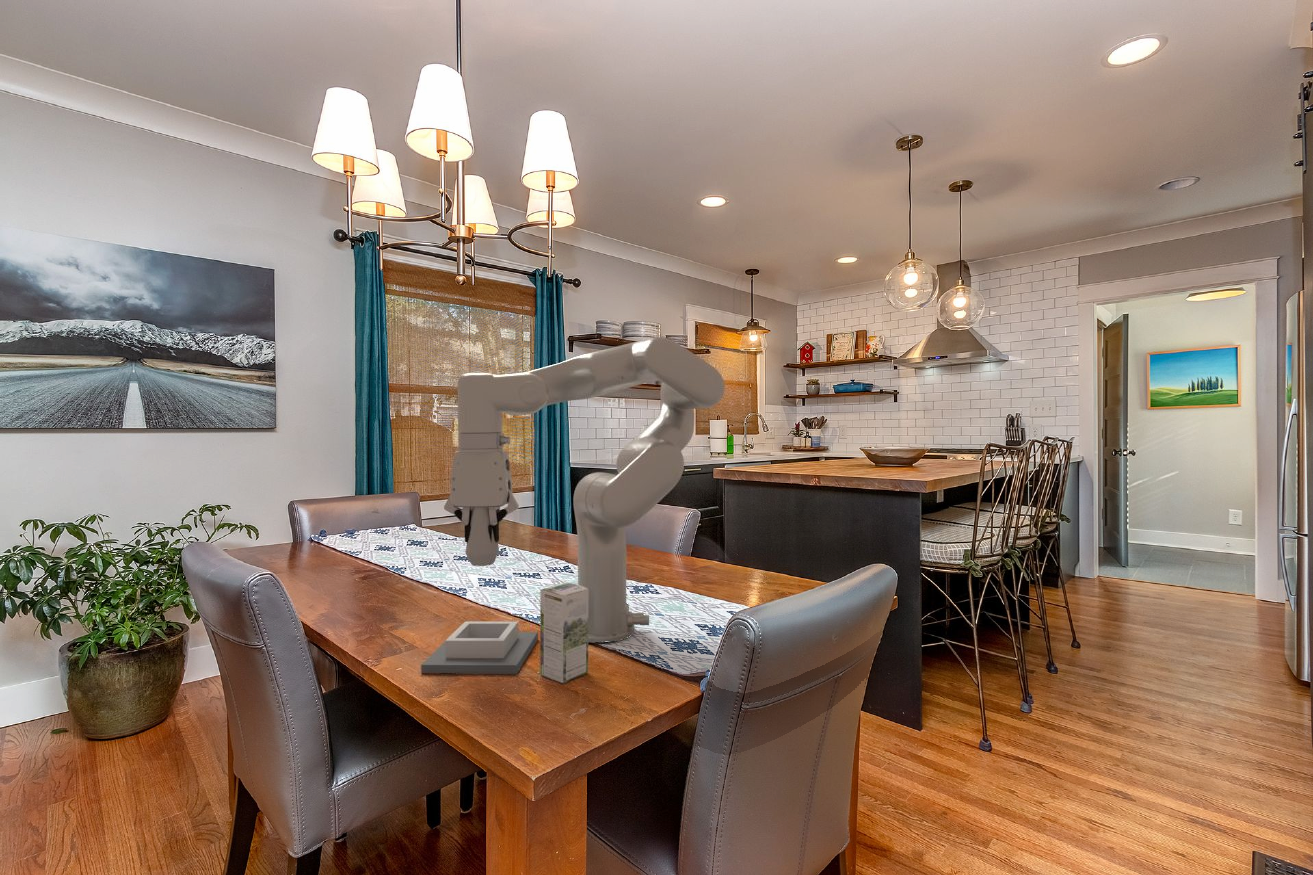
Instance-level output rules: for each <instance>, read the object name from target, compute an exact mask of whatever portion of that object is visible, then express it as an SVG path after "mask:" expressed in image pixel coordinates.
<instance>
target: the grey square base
mask: <svg viewBox="0 0 1313 875" xmlns="http://www.w3.org/2000/svg"><path fill="white" fill-rule="evenodd" d="M538 641H539V631H519V621H483V620H481V621H477V620H475V621H473V620H472V621H464V622H463V623H462V624H461V625H460V626H458V628H457V629H456V630H454V632H453V633H452V634H450V635H449V636H448V637H447V639H446V640H445V641H444V642H443V643H441V645H440V646H439V647H438V648H437V649H436V650H434V651H433V652H432V654H431V655H429V657H428V658H427V659H426V660H424V662H422V663H421V664H420V670H421V671H420V674H421V673H452V674H451V675H518V673H519V671H520V670H521V668H522V667H523V665H524V663H525V662H526V660H527V658H528V657H529V655H530V653H531V652H532V650H533V648H534V647H535V646H536V643H537V642H538ZM453 673H454V674H453ZM455 673H456V674H455Z"/></svg>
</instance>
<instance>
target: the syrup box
mask: <svg viewBox="0 0 1313 875" xmlns="http://www.w3.org/2000/svg"><path fill="white" fill-rule="evenodd" d="M539 594H540V595H539V596H540V598H539V599H540V600H539V601H540V603H539V604H540V609H539V612H540V616H539V617H540V620H539V621H540V626H539V627H540V628H539V629H540V630H539V632H540V633H539V634H540V638H539V639H540V641H539V642H540V644H539V645H540V646H539V648H540V652H539V653H540V654H539V655H540V659H539V662H540V666H539V667H540V670H539V674H540V675H541V676H542V677H546V678H547V679H551V680H553V681H556V682H558V683H561V684H565V683H568V682H570V681H573V680H574V679H576V678H579V677H580V676H583V675H586V674H587V673H589V642H588V595H589V590H588V589H587V588H585V587H583V586H580V585H578V583H573V582H564V583H560V584H556V585H553V586H549V587H546V588H542V589H540V592H539Z"/></svg>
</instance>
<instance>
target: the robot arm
mask: <svg viewBox="0 0 1313 875" xmlns="http://www.w3.org/2000/svg"><path fill="white" fill-rule="evenodd" d="M651 382H661V385H660V409H659V410H660V411H659V413H658V414H657V417H655V419H654V420H653V421H652V422H651V423H650V424H649V425H648V426H647V427H646V428H645V429H643V430H642V432H640V433H639V434H638V435H637V436H635V438H633V439H632V440H631V441H630V442H629V443H628V444H626V445H625V446H624V447H623V448H622V449H621V451H620V452H619V454H618V455H617V457H616V463H615V464H616V471H617V472H618V474H614V473H609V472H603V471H602V472H598V471H597V472H592V473H590V474H587V475H585V476H584V477H583V478H582V479H581V480H579V481H578V483H577V485H576V487H575V490H574V492H573V493H574V494H573V499H572V500H573V511H574V518H575V523H576V532H577V533H576V534H577V585H580V586H583V587H585V588H587V589H588V590H589V595H588V643H592V644H594V643H595V642H602V641H603V642H605V641H615V642H619V641H618V640H620V641H622V640H621V639H623V640H625V638H626V639H628V638H629V636H630V637H631V636H633V635H634V633H635V625H638V626H650V615H649V614H645V613H644V612H633V611H631V610H630V605H629V604H628V605H627V539H626V531H625V528H628V527H630V526H633V525H635V524H636V523H637V522H639V521H640V520H641V519H642V518H644V517H645V516H646V515H647V514H648V513H649V512H650V511H651V510H653V508H654V507H656V506H657V504H658V503H660V502H661V501H662V500H663V498H664V497H666V496H667V495H668V494H669V493H670V492H671V491H672V490H673V489H674V488H675V486H676V485H677V484H678V483H679V481H680V479H681V478H682V475H683V472H684V469H685V468H684V467H685V458H684V455H683V452H682V451H683V450H684V449H685V448H686V446H688V444H689V443H690V441H691V439H692V438H693V434H694V430H695V410H697V409H698V410H699V409H700V410H702V409H710V408H712V407H715V406H716V405H718V404H719V403H720V401H722V399H723V398H724V394H725V391H726V390H725V389H726V387H725V386H726V385H725V381H724V377H723V376H722V374H721V373H720V372H719V370H718V369H717V368H715V367H714V366H713V365H712V364H710V363H709V362H707V361H705V360H704V359H702V357H699V356H697V355H696V354H694V353H693V352H692V351H690V350H688V349H687V348H685V347H684V346H682V345H680V344H679V343H678V342H676V341H674V340H672V339H669V338H666V337H663V336H655V337H651V338H646V339H642V340H637V341H634V342H630V343H626V344H622V345H618V346H613V347H609V348H606V349H602V350H598V351H597V350H596V351H594V352H589V353H586V354H581V355H578V356H575V357H572V358H570V359H567V360H564V361H562V362H559V363H556V364H552V365H548V366H543V367H541V368H538V369H537V368H536V369H533V370H530V371H526V372H520V373H510V374H494V373H488V372H468V373H463V374H461V375H460V376H459V377H458V380H457V384H456V385H457V431H458V435H457V437H458V438H457V439H458V440H457V441H458V445H457V446H458V449H457V450H456V451H455V452H454V455H453V460H452V466H451V474H450V489H449V490H450V491H449V492H450V493H449V494H450V495H449V496H448V498H447V500H446V502H445V504H444V506H443V510H444V511H447V512H449V513H450V514H452V515H454V516H455V517H456V518H457V519H458V520H459V521H460V522H461V524H462V525H463V526H464V542H465V543H466V545H468V540H469V536H470V530H471V525H470V523H471V515H472V508H489V516H490V523H491V525H488V532H489V536H490V540H491V541H492V529H493V535H494V540H495V542H498V543H499V540H500V523H501V522H502V520H503V519H505V518H506V517H507V516H508V514H509V515H510V514H511V513H513V512H514V511H516V510H518V509H519V506H520V505H519V504H518V502H517V500H516V498H515V496H514V495H513V479H512V470H511V469H512V468H511V464H510V456H509V453H508V450H504V449H503V448H504V446H505V445H510V444H511V437H510V436H506V435H504V433H503V413H504V414H506V415H511V416H516V415H518V416H519V415H521V416H523V415H524V416H525V415H526V416H527V415H532V414H535V413H537V412H539V411H540V410H542V409H543V408H544V407H547V406H550V405H556V404H559V403H563V402H570V401H572V402H573V401H580V400H581V401H582V400H588V399H592V398H598V397H602V396H604V395H608V394H612V393H615V392H618V391H622V390H625V389H628V388H632V387H635V386H636V387H637V386H640V385H642V384H647V383H651ZM505 505H507V506H506V507H504V506H505ZM502 507H504V508H502ZM501 508H502V509H501ZM627 637H628V638H627ZM595 644H596V643H595Z"/></svg>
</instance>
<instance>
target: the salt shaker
mask: <svg viewBox="0 0 1313 875" xmlns="http://www.w3.org/2000/svg"><path fill="white" fill-rule="evenodd" d="M470 525H471V530H470V536H469V540H468V545H467V544H466V546H465V555H466V557H467V559H468V561H469V563H470V565H472V567H473V566H474V567H484V566H485V567H486V566H490V565H493V564H494V563H495V562H496V559H497V556H498V555H499V552H500V546H499V541H498V542H495V540H494V535H493V529H492V541H491V540H490V536H489V532H488V525H491V523H490V516H489V508H472V515H471V523H470Z"/></svg>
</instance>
